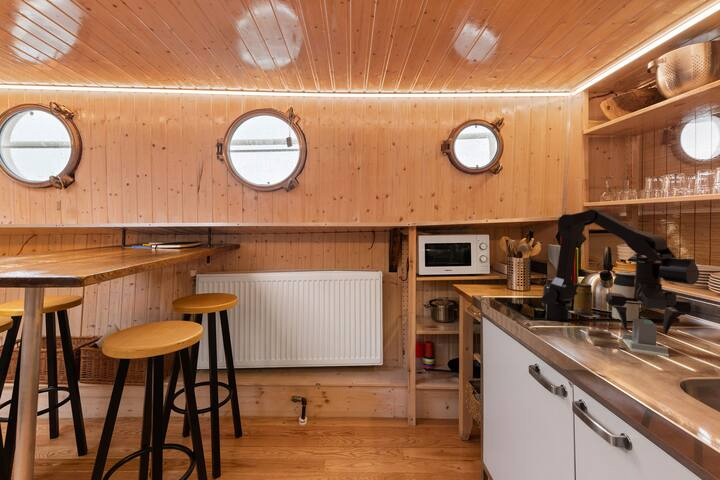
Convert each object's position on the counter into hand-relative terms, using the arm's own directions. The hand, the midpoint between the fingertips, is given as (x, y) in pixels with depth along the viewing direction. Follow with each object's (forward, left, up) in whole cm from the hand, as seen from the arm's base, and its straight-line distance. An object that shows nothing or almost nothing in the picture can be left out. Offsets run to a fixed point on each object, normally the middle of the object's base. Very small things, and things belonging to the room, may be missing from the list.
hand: (644, 331), depth 98 cm
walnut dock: (-10, 0, -5) cm, 11 cm away
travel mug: (+3, +34, -5) cm, 35 cm away
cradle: (0, 0, -5) cm, 5 cm away
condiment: (-10, +35, -5) cm, 37 cm away
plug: (0, 0, -4) cm, 4 cm away
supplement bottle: (-21, +42, -5) cm, 47 cm away
